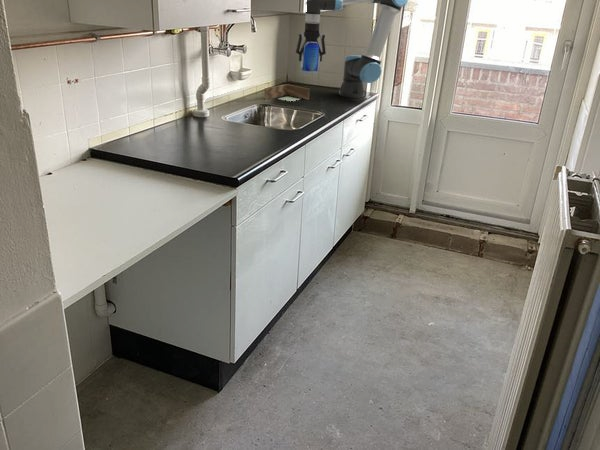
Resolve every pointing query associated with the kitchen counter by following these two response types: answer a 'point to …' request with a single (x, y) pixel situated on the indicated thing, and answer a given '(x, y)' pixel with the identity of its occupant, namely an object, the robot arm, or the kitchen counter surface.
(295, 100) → the pad
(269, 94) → the corner walls
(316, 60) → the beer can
